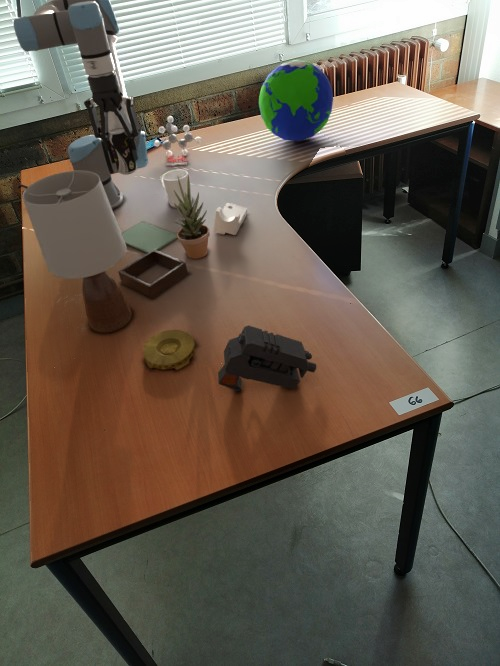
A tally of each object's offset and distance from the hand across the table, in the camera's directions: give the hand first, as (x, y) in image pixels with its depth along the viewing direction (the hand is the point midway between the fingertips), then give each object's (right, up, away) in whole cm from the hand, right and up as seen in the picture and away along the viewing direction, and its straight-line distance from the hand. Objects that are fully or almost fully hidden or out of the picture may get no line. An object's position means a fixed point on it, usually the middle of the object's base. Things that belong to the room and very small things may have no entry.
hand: (125, 160), depth 145 cm
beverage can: (0, -3, +2) cm, 4 cm away
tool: (+40, -61, -36) cm, 81 cm away
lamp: (0, -46, -13) cm, 48 cm away
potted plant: (+20, -26, +7) cm, 33 cm away
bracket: (+31, -15, +18) cm, 38 cm away
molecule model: (+7, +22, +63) cm, 67 cm away
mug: (+11, -3, +34) cm, 36 cm away
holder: (+9, -34, -1) cm, 35 cm away
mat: (+3, -19, +17) cm, 26 cm away
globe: (+56, +32, +67) cm, 93 cm away
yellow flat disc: (+17, -55, -26) cm, 63 cm away
